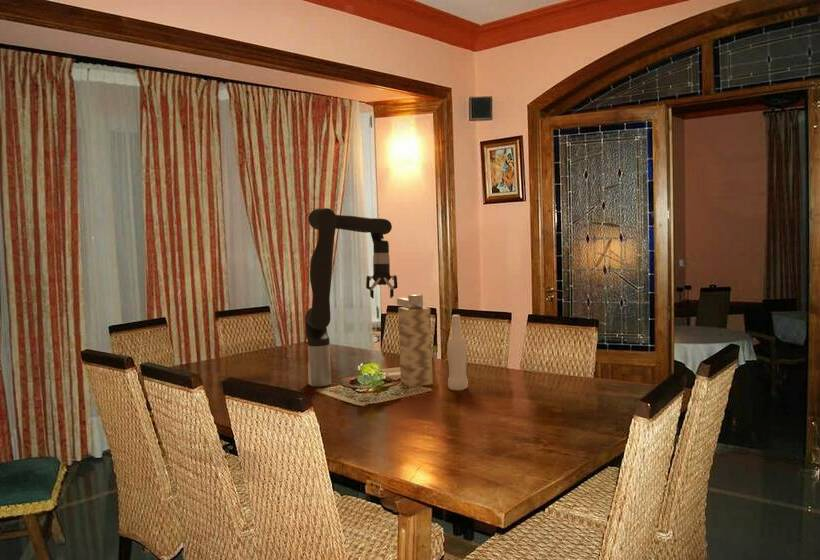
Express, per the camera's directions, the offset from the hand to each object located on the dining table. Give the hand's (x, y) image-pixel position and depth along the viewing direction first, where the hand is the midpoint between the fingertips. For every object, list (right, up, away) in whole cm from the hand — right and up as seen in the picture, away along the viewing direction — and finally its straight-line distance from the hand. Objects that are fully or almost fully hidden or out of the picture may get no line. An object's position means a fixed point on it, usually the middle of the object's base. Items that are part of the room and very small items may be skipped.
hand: (382, 298), depth 296 cm
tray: (+7, -35, -9) cm, 37 cm away
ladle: (+12, -3, -19) cm, 23 cm away
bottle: (+32, -36, -34) cm, 59 cm away
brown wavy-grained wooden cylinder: (+16, -35, -22) cm, 45 cm away
